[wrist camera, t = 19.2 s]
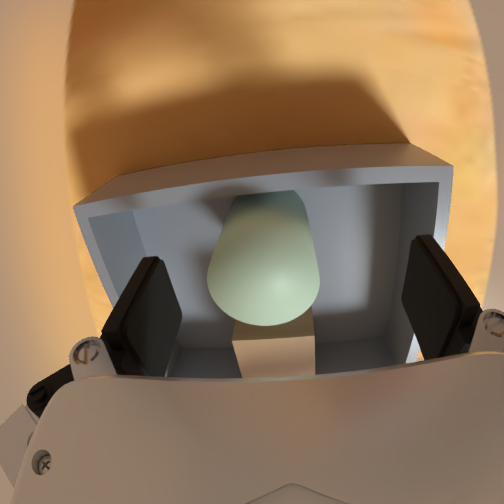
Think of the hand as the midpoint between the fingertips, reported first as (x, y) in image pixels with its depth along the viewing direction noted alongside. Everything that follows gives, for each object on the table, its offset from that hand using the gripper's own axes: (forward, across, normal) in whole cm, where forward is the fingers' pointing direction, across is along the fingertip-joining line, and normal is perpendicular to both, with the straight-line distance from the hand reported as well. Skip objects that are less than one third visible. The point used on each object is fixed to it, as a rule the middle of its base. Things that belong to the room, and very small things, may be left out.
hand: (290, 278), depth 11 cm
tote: (+9, +1, +6) cm, 11 cm away
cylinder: (+9, +1, +2) cm, 9 cm away
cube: (+8, +1, +10) cm, 13 cm away
